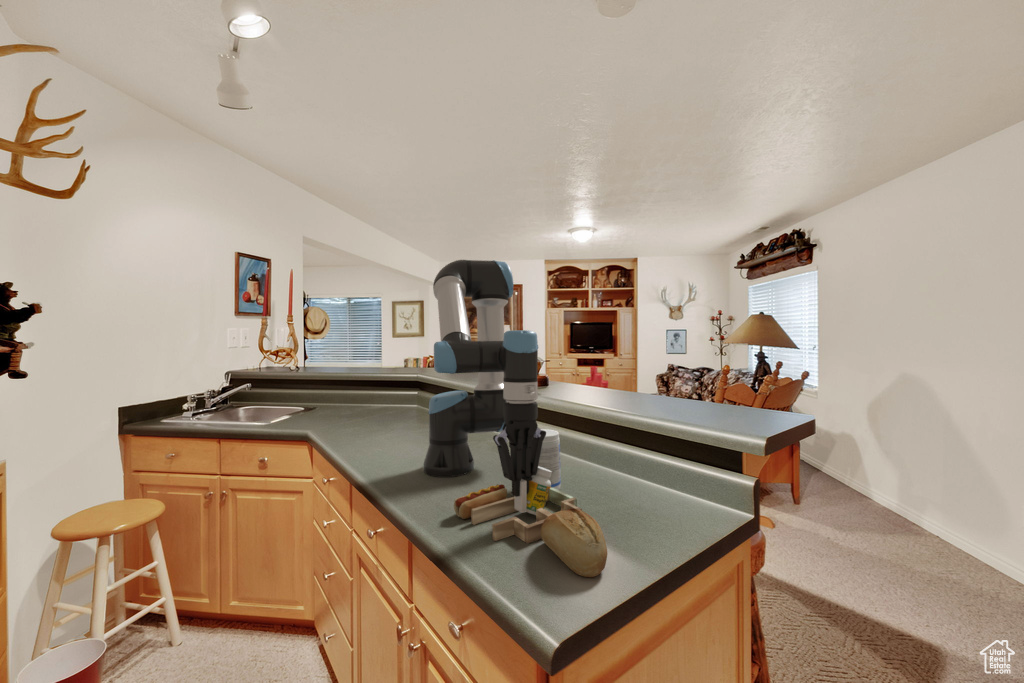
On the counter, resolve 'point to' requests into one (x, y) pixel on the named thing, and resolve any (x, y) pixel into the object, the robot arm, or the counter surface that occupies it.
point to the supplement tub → (551, 457)
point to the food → (479, 499)
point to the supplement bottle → (538, 490)
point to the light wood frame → (516, 525)
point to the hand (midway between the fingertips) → (520, 509)
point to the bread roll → (576, 541)
